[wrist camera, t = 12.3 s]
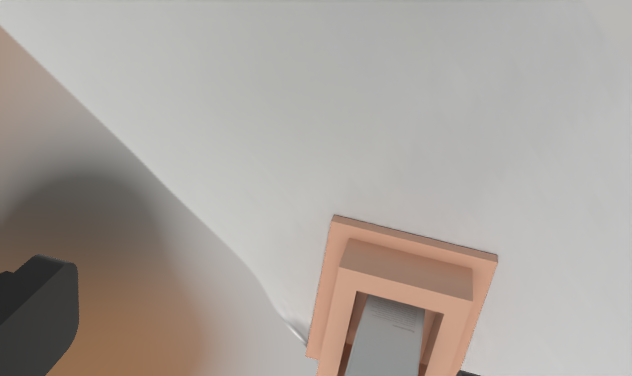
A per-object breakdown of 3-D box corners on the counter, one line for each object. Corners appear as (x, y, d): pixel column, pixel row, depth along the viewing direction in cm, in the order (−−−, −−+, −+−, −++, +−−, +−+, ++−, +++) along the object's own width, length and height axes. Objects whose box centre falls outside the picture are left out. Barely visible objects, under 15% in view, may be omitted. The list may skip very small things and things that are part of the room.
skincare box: (372, 271, 45) (343, 385, 34) (428, 287, 44) (416, 408, 34) (354, 333, 48) (322, 456, 37) (407, 349, 47) (390, 479, 36)
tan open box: (308, 348, 50) (293, 391, 46) (334, 214, 45) (319, 248, 40) (450, 388, 49) (449, 436, 45) (497, 255, 43) (500, 295, 39)
